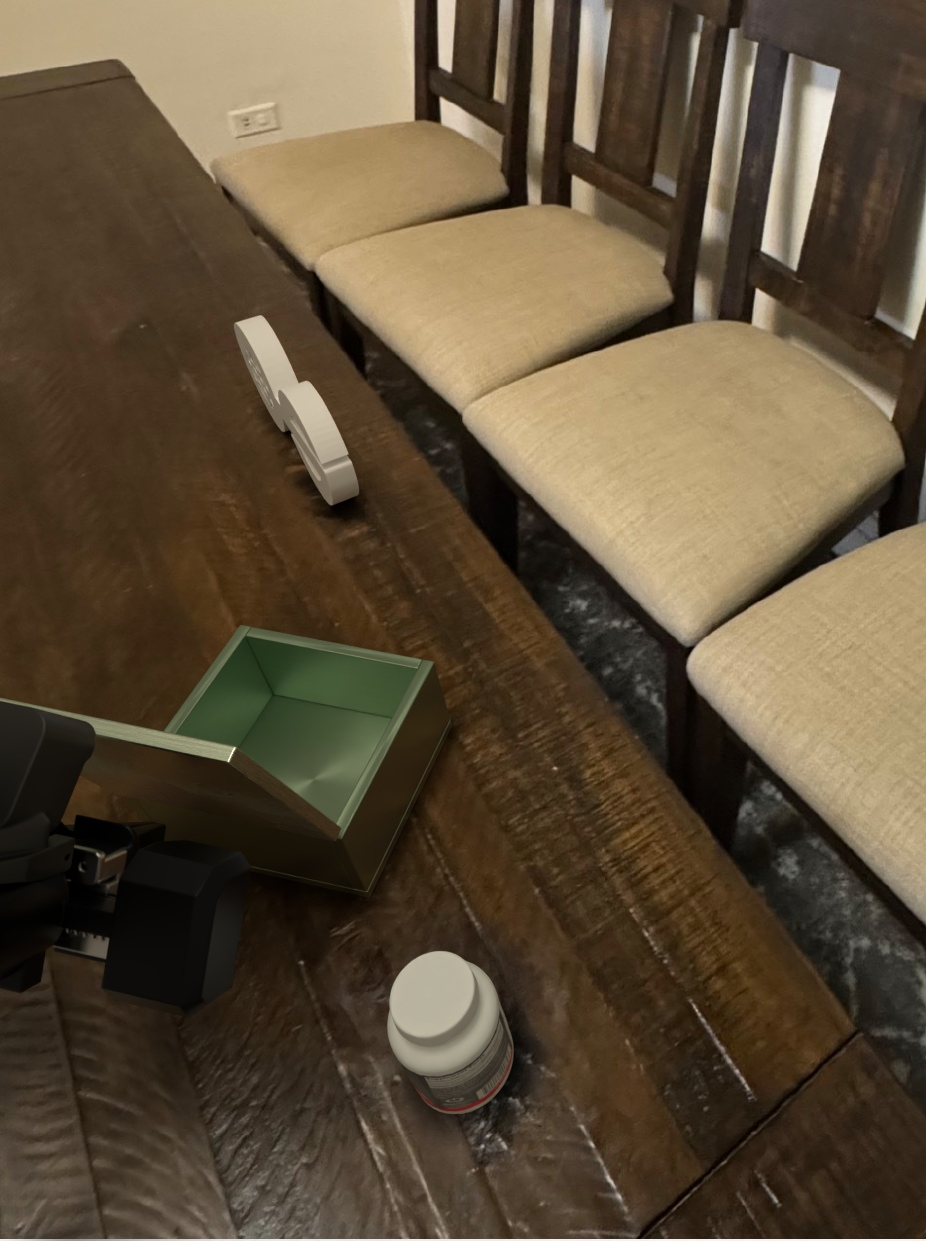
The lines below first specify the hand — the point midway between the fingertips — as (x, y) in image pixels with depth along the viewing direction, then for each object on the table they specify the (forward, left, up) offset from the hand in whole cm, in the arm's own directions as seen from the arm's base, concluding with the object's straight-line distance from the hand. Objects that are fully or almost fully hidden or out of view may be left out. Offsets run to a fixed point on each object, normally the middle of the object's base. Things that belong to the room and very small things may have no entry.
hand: (158, 832), depth 50 cm
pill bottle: (+3, -16, -12) cm, 20 cm away
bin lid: (+2, +1, +2) cm, 3 cm away
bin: (+9, +4, -12) cm, 16 cm away
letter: (+30, +32, -12) cm, 46 cm away
